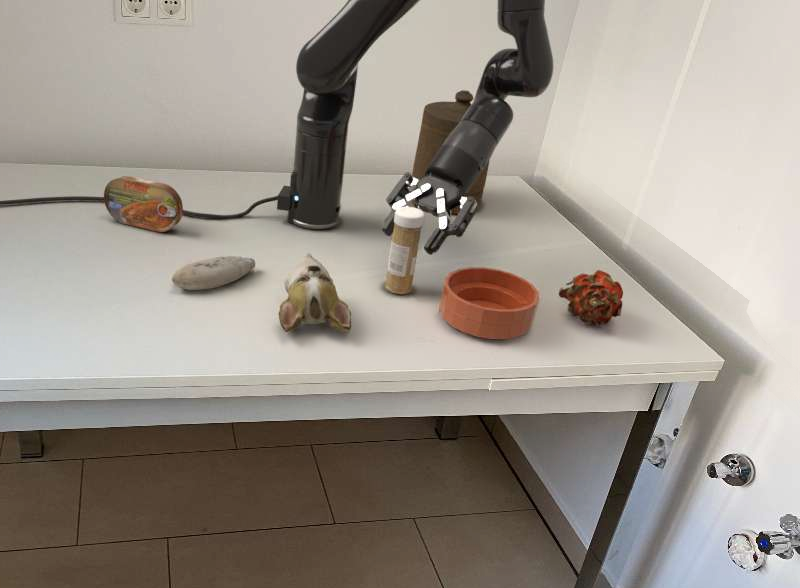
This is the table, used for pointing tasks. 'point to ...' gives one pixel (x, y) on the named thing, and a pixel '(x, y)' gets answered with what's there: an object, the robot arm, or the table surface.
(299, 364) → the table surface
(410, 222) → the sprinkles bottle
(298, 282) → the ceramic sculpture
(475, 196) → the wooden container
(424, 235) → the table surface
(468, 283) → the bowl
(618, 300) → the dragon fruit
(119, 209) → the tin
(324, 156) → the robot arm
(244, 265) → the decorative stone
